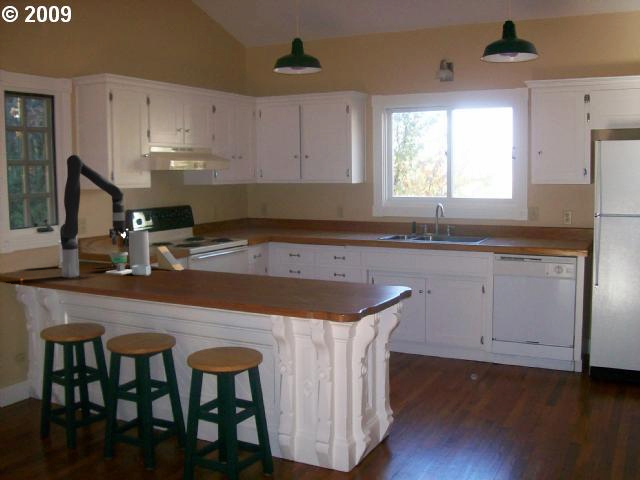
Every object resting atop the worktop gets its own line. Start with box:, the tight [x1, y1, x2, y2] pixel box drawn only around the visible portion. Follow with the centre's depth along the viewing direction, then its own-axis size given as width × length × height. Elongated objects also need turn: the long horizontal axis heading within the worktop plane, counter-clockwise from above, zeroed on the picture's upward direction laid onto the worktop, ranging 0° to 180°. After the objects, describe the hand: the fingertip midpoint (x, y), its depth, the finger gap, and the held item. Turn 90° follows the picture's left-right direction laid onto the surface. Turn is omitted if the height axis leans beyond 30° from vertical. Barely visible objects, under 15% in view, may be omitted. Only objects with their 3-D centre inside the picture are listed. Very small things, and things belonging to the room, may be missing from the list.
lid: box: [105, 263, 132, 275], centre depth 435 cm, size 13×13×6 cm
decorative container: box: [57, 239, 63, 269], centre depth 465 cm, size 12×12×18 cm
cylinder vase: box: [128, 230, 150, 270], centre depth 452 cm, size 12×12×25 cm
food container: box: [108, 251, 129, 268], centre depth 462 cm, size 12×6×10 cm, turn 105°
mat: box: [102, 272, 132, 276], centre depth 436 cm, size 16×16×1 cm
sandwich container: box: [156, 245, 184, 272], centre depth 449 cm, size 9×15×15 cm, turn 64°
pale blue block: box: [131, 264, 152, 277], centre depth 429 cm, size 11×11×6 cm
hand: (119, 245), depth 434 cm, fingers open, 8 cm apart
